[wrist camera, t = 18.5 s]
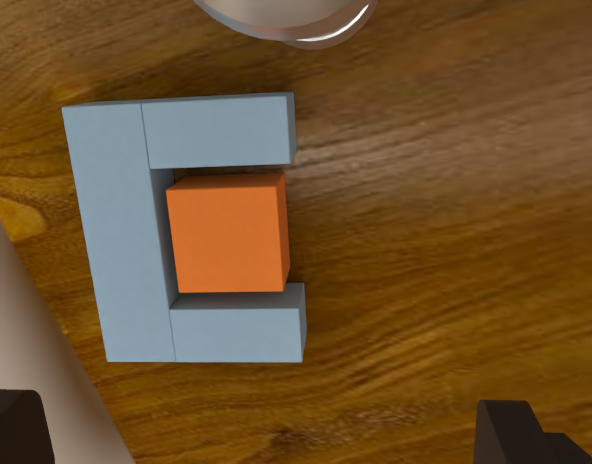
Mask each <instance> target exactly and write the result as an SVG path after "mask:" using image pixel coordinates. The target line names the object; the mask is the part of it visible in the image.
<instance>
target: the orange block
mask: <svg viewBox="0 0 592 464" xmlns="http://www.w3.org/2000/svg"><path fill="white" fill-rule="evenodd" d="M166 196H167V204H168V211H169V219H170V227H171V234H172V242H173V250H174V257H175V265H176V273H177V280H178V288H179V292H180V293H196V292H273V291H283V290H284V287H285V283H286V280H287V276H288V273H289V269H290V253H289V237H288V221H287V205H286V189H285V174H284V173H255V174H228V175H201V176H185V177H184V178H183V179H181V180H180V181H178V182H177V183H176V184H174V185H173V186H171V187H170V188H168V189H167V190H166Z"/></svg>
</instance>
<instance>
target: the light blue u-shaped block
mask: <svg viewBox="0 0 592 464" xmlns="http://www.w3.org/2000/svg"><path fill="white" fill-rule="evenodd" d="M62 114H63V119H64V125H65V130H66V136H67V141H68V147H69V152H70V158H71V163H72V169H73V174H74V180H75V185H76V191H77V196H78V202H79V208H80V213H81V219H82V224H83V230H84V235H85V241H86V246H87V252H88V257H89V263H90V268H91V274H92V279H93V285H94V290H95V296H96V301H97V307H98V312H99V318H100V323H101V329H102V335H103V340H104V346H105V351H106V357H107V361H108V362H302V359H303V353H304V347H305V340H306V334H307V324H306V306H305V288H304V283H285V287H284V290H283V291H273V292H196V293H180V292H179V288H178V280H177V273H176V265H175V257H174V250H173V242H172V234H171V227H170V219H169V211H168V204H167V196H166V190H167V189H168V188H170V187H171V186H173V185H174V176H173V168H192V167H219V166H245V165H271V164H290V163H291V161H292V159H293V157H294V156H295V154H296V152H297V142H296V124H295V105H294V93H293V92H274V93H255V94H235V95H216V96H197V97H178V98H164V99H163V98H159V99H140V100H121V101H101V102H90V103H84V104H78V105H71V106H65V107H62Z"/></svg>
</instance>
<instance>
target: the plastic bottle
mask: <svg viewBox="0 0 592 464" xmlns="http://www.w3.org/2000/svg"><path fill="white" fill-rule="evenodd" d="M192 1H193V2H195V3H196V4H197V5H198V6H199V7H200V8H202V9H203V10H204V11H205V12H206V13H207V14H209V15H210V16H211V17H212V18H214V19H215V20H217V21H219V22H221V23H222V24H224V25H226V26H228V27H229V28H231V29H233V30H235V31H237V32H241V33H244V34H247V35H250V36H253V37H256V38H259V39H269V40H278V41H281V42H283V43H285V44H287V45H290V46H293V47H296V48H299V49H309V50H316V49H325V48H329V47H332V46H335V45H338V44H340V43H342V42H344V41H345V40H347V39H349V38H351V37H352V36H353V35H354V34H355V33H357V32H358V31H359V30H360V29H361V28H362V27H363V26H364V25H365V23H366V22H367V21H368V19H369V18H370V17H371V15H372V13H373V11H374V9H375V7H376V5H377V3H378V1H379V0H192Z"/></svg>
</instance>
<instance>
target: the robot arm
mask: <svg viewBox="0 0 592 464" xmlns="http://www.w3.org/2000/svg"><path fill="white" fill-rule="evenodd" d="M0 464H55V458H54V453H53V449H52V444H51V439H50V435H49V430H48V426H47V422H46V417H45V413H44V408H43V404H42V400H41V397H40V395H39V394H38V393H37V392H36V391H34V390H7V389H6V390H5V389H0ZM473 464H592V458H591V456H590V455H588V454H587V453H586V452H585V451H584V450H583V449H581V448H580V447H579V446H578V445H577V444H576V443H574V442H573V441H572V440H571V439H570V438H569V437H567V436H566V435H565V434H564V433H544V432H543V430H542V428H541V426H540V425H539V423H538V421H537V419H536V417H535V415H534V413H533V411H532V409H531V407H530V405H529V404H528V402H526V401H516V400H480V401H479V403H478V407H477V418H476V432H475V447H474V461H473Z"/></svg>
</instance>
